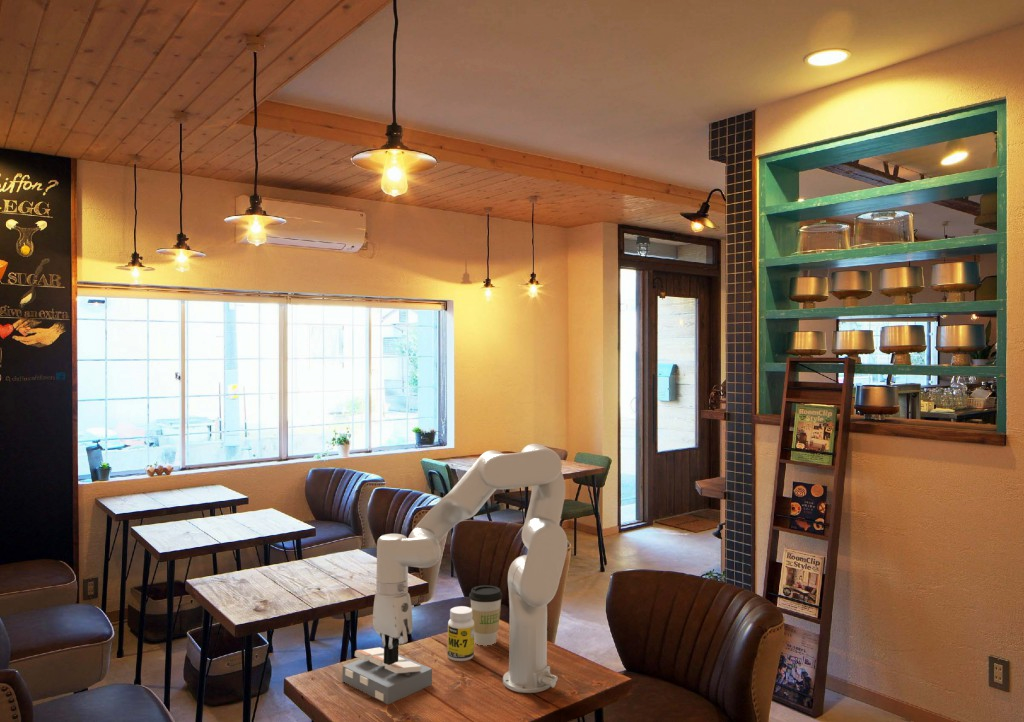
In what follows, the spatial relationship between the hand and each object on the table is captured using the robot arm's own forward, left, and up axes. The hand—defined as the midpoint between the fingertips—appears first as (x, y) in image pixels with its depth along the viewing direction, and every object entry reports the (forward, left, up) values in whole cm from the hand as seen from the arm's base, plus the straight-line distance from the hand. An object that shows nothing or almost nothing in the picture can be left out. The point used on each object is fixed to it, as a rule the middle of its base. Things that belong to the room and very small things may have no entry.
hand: (390, 662), depth 172 cm
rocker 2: (+6, -4, -3) cm, 8 cm away
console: (+6, -4, -8) cm, 11 cm away
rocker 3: (0, -4, -3) cm, 5 cm away
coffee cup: (+6, -40, -8) cm, 41 cm away
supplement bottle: (+4, -28, -8) cm, 29 cm away
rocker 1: (+12, -4, -3) cm, 13 cm away
